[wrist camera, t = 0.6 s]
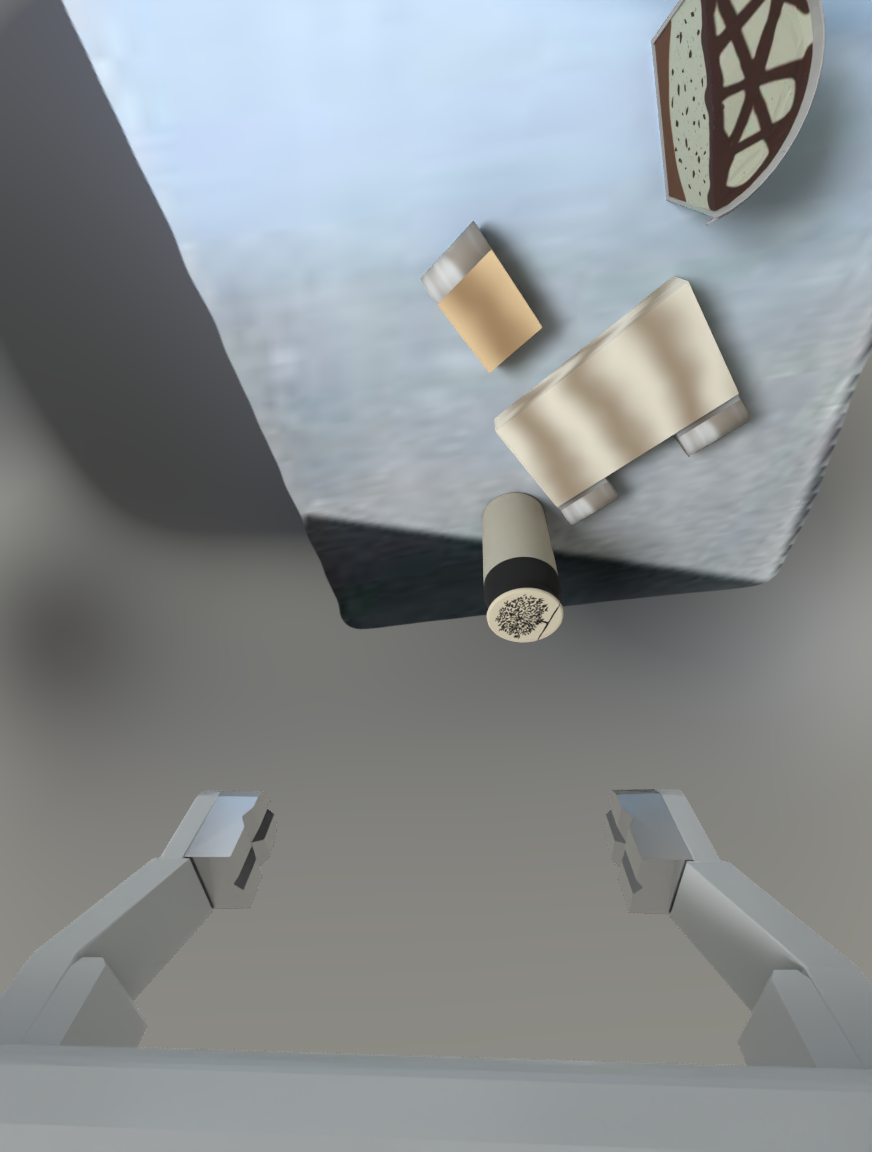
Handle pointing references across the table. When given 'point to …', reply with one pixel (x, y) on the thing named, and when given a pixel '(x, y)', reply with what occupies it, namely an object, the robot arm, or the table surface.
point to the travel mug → (519, 570)
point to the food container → (732, 94)
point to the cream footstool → (624, 401)
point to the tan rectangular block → (480, 299)
